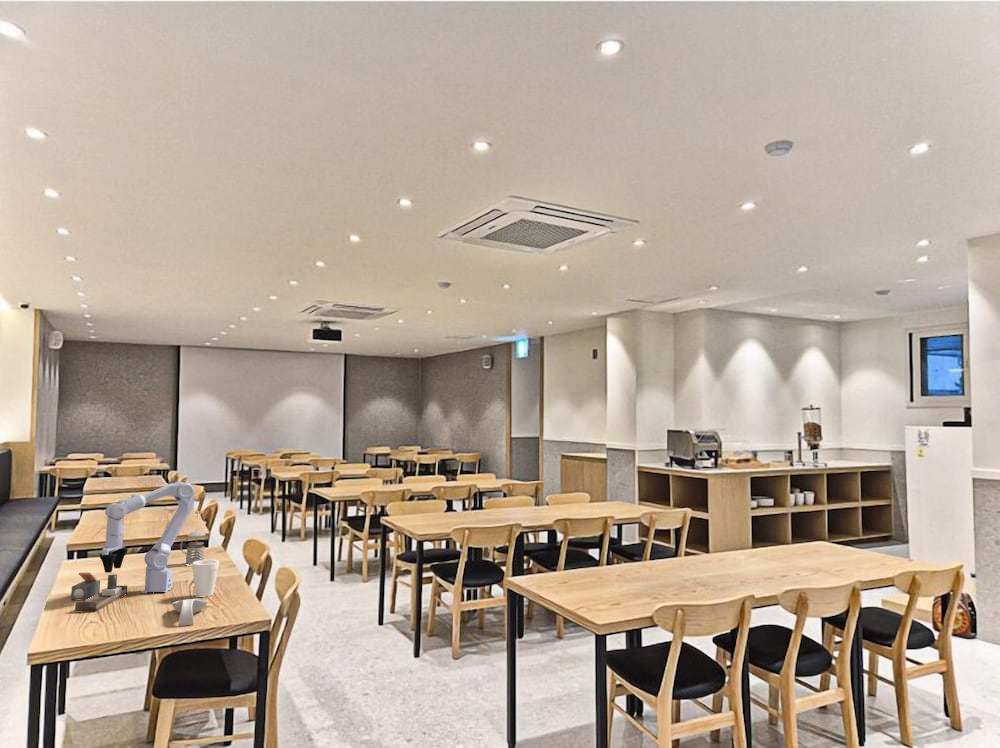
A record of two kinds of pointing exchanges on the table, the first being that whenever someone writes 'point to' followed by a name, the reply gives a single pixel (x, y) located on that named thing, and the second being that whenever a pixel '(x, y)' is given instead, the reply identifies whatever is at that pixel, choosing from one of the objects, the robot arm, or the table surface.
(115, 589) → the carriage
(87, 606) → the rail
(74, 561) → the table surface
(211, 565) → the foam cup
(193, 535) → the french press
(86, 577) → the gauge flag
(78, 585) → the box
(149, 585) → the robot arm
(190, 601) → the spoon rest
